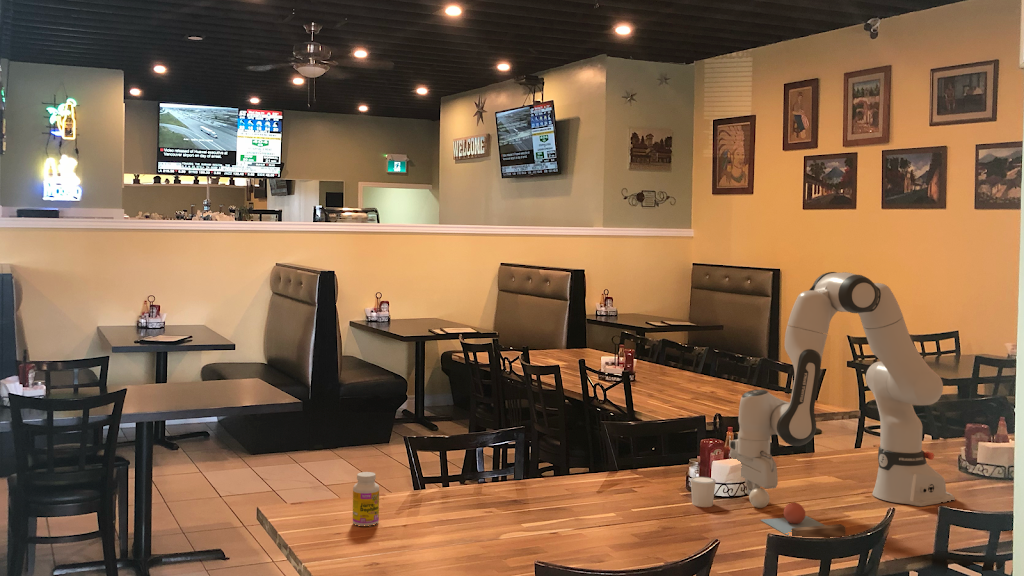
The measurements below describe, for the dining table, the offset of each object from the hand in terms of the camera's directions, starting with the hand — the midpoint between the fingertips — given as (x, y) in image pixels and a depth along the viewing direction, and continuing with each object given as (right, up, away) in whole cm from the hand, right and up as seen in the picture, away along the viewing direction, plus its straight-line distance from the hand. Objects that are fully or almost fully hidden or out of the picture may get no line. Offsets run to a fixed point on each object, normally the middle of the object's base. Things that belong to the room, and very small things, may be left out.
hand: (752, 496), depth 257 cm
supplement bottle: (-105, -2, -24) cm, 108 cm away
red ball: (+6, 0, -20) cm, 20 cm away
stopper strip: (+8, -3, -30) cm, 32 cm away
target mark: (+6, -3, -22) cm, 23 cm away
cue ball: (0, +1, -6) cm, 6 cm away
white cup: (-15, -2, -3) cm, 15 cm away
